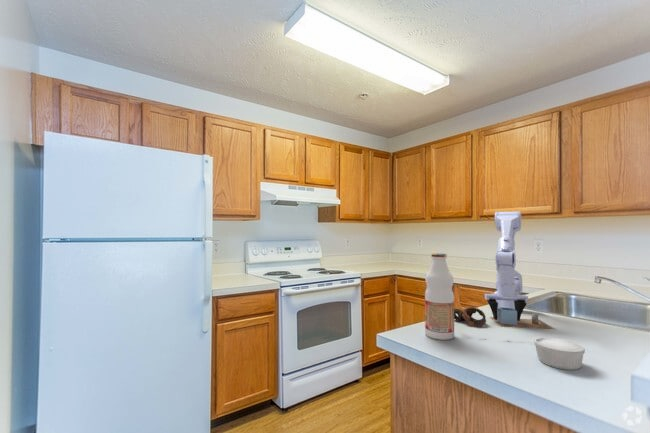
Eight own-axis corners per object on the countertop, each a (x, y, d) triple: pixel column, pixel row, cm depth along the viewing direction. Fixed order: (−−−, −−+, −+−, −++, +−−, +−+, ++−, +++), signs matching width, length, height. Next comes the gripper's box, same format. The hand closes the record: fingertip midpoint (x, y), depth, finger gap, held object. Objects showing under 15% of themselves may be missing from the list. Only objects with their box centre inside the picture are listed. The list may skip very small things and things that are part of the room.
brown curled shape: (483, 325, 123) (488, 309, 119) (480, 343, 115) (486, 327, 111) (450, 313, 127) (455, 298, 123) (446, 330, 120) (451, 314, 116)
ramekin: (537, 351, 95) (536, 334, 96) (585, 362, 88) (584, 342, 89) (532, 364, 87) (531, 344, 87) (585, 376, 80) (584, 355, 80)
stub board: (500, 330, 115) (500, 316, 115) (489, 321, 126) (489, 308, 127) (556, 333, 112) (555, 319, 112) (539, 323, 124) (538, 310, 124)
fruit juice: (437, 342, 103) (437, 255, 104) (419, 332, 112) (419, 252, 113) (460, 338, 106) (459, 254, 107) (441, 330, 115) (440, 252, 116)
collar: (501, 323, 118) (501, 310, 118) (496, 319, 123) (495, 306, 123) (517, 324, 117) (517, 310, 117) (511, 320, 122) (511, 307, 122)
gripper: (488, 284, 118) (489, 321, 117) (531, 285, 115) (532, 323, 115) (482, 281, 125) (483, 316, 124) (523, 282, 122) (523, 318, 122)
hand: (506, 319), depth 120 cm, fingers open, 7 cm apart
